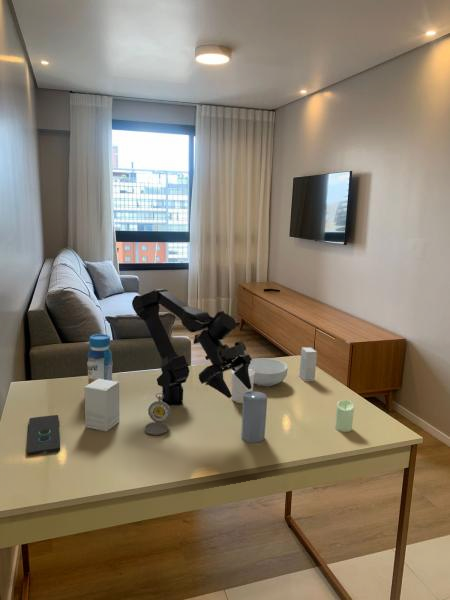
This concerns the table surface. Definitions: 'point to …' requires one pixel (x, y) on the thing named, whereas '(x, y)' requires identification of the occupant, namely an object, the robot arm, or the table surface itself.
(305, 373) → the skincare box
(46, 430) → the smart home device
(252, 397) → the grey faceted canister
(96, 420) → the supplement box
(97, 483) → the table surface
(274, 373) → the cereal bowl
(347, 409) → the candle
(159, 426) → the pocket watch
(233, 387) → the white cup
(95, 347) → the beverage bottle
